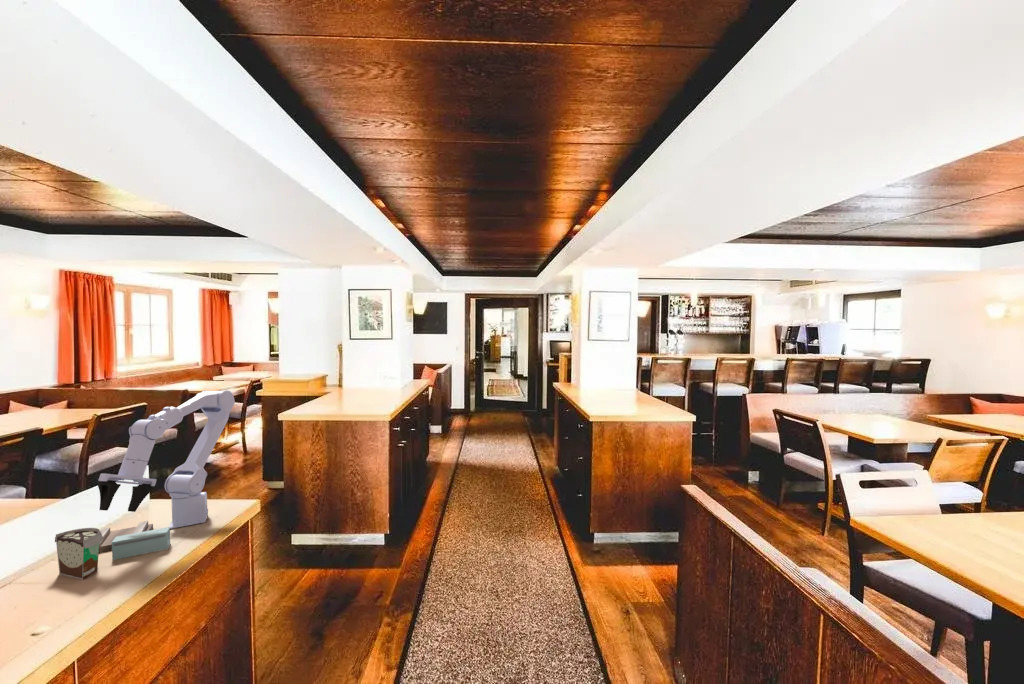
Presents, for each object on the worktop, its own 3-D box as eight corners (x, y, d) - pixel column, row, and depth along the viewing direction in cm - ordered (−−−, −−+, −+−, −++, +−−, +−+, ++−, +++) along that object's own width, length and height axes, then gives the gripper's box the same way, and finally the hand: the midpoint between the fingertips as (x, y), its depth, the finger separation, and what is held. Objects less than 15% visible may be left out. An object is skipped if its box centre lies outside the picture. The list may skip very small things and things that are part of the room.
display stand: (153, 528, 142) (152, 518, 142) (144, 543, 131) (144, 533, 131) (98, 538, 135) (98, 528, 135) (85, 554, 125) (84, 544, 125)
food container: (115, 568, 117) (114, 530, 117) (86, 580, 111) (85, 540, 111) (85, 561, 121) (83, 524, 121) (55, 573, 115) (54, 534, 115)
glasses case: (170, 544, 131) (169, 526, 131) (167, 550, 127) (167, 532, 127) (116, 554, 125) (116, 536, 125) (112, 561, 121) (111, 542, 121)
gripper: (120, 457, 123) (100, 510, 118) (169, 464, 136) (153, 512, 131) (101, 456, 125) (81, 509, 120) (151, 464, 138) (135, 511, 133)
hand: (117, 511), depth 125 cm, fingers open, 7 cm apart
